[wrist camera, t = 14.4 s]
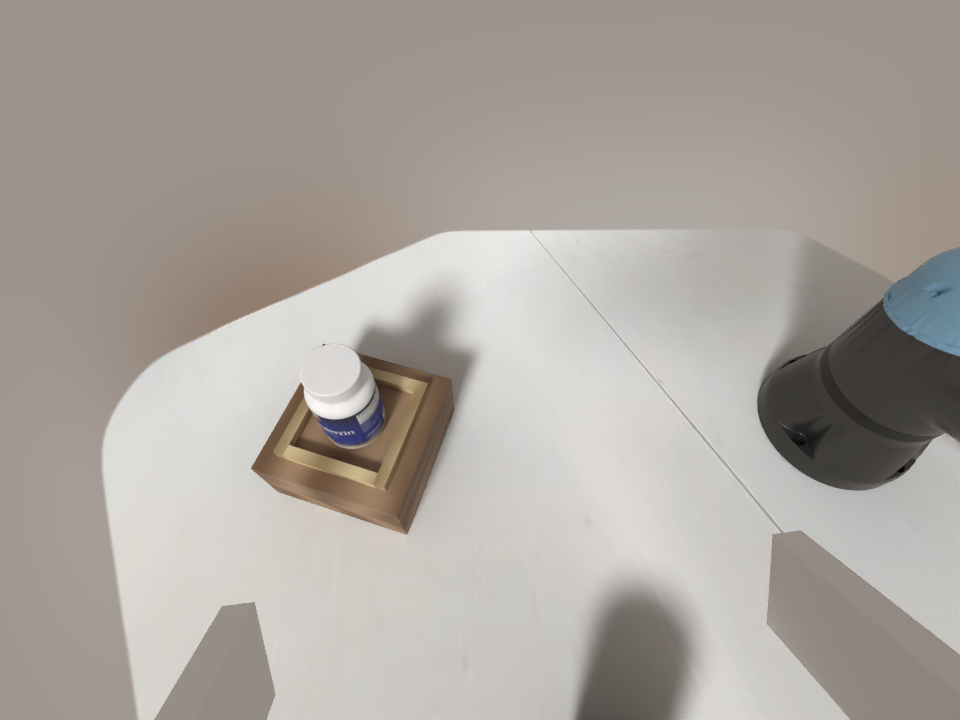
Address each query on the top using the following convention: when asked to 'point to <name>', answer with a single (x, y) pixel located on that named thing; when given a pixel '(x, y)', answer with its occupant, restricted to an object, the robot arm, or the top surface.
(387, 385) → the tray
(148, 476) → the top surface
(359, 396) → the pill bottle
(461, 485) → the top surface
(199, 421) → the top surface
